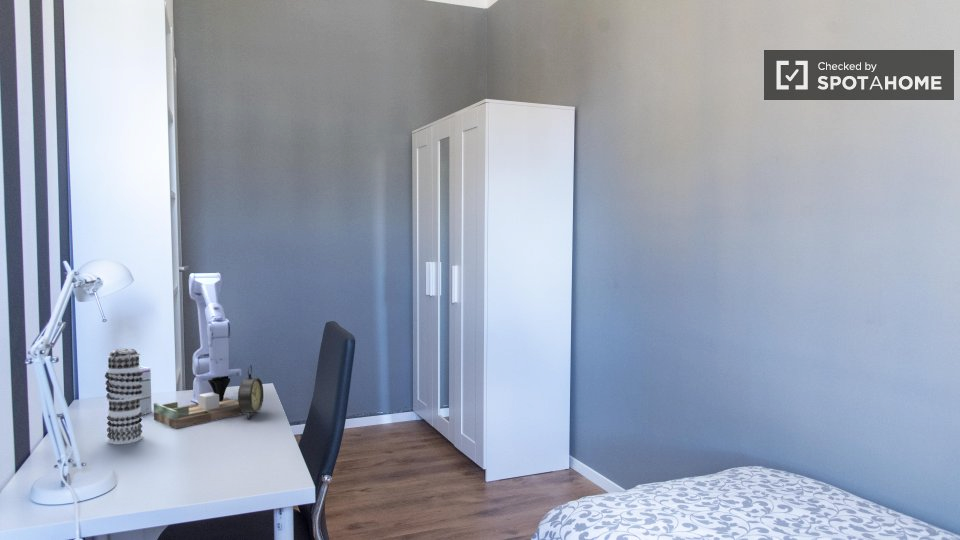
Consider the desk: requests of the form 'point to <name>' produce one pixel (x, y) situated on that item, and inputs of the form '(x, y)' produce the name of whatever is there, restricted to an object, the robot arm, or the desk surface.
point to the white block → (208, 401)
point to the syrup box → (145, 390)
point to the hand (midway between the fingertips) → (219, 400)
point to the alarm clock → (250, 395)
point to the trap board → (194, 413)
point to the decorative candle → (124, 396)
